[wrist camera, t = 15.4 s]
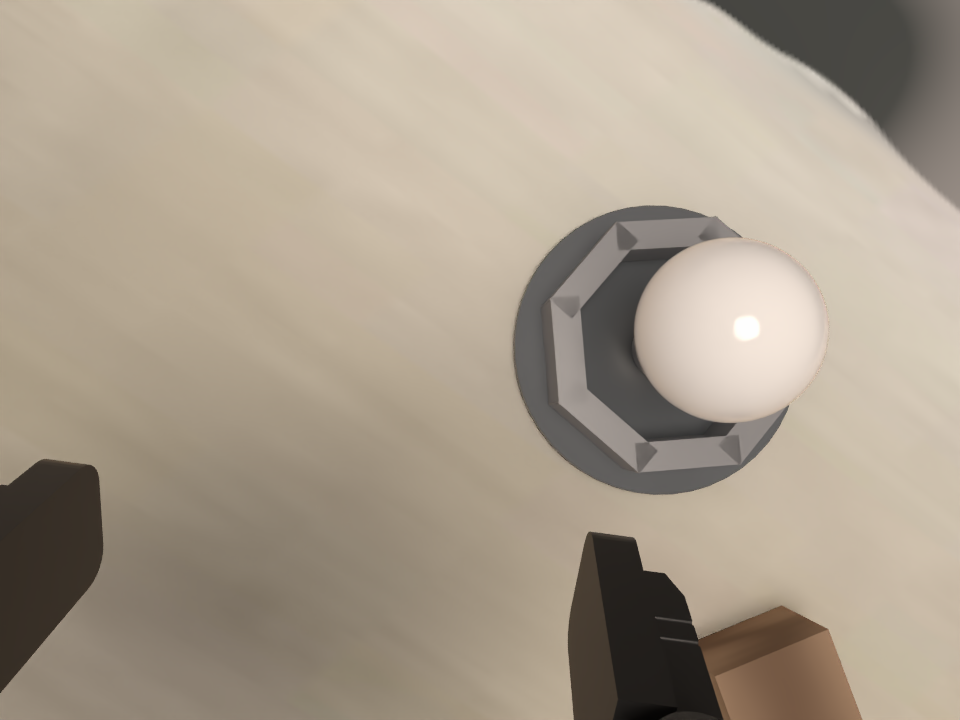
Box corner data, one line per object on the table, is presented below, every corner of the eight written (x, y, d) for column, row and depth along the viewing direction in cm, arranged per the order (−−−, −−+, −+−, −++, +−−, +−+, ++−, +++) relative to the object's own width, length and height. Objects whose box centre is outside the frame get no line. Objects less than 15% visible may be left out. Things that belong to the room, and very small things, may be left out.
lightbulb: (697, 262, 34) (828, 189, 23) (745, 395, 34) (899, 384, 23) (567, 305, 34) (638, 251, 23) (614, 441, 33) (709, 452, 22)
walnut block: (719, 754, 33) (760, 799, 29) (679, 646, 34) (714, 676, 30) (820, 711, 34) (873, 750, 30) (780, 604, 34) (828, 629, 30)
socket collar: (525, 505, 33) (536, 513, 30) (502, 216, 34) (511, 196, 31) (807, 481, 35) (844, 487, 32) (778, 201, 35) (811, 181, 32)
